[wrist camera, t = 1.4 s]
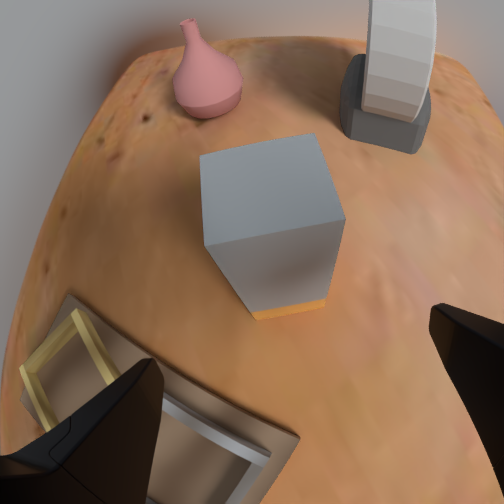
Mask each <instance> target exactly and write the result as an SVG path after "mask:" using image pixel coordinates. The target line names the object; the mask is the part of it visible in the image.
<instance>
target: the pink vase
mask: <svg viewBox="0 0 504 504" xmlns="http://www.w3.org/2000/svg"><path fill="white" fill-rule="evenodd" d="M180 26H181V29H182V31H183V34H184V37H185V40H186V46H185V50H184V55H183V59H182V62H181V63H180V65H179V67H178V69H177V71H176V72H175V74H174V77H173V79H172V80H173V86H174V91H175V96H176V101H177V102H178V103H179V104H180V105H181V106H182V107H183V108H184V109H185V110H186V111H187V113H189V114H190V115H191V116H193V117H197V118H212V117H216V116H220V115H222V114H224V113H227V112H229V111H230V110H232V109H233V108H234V107H236V106H237V104H238V103H239V101H240V100H241V93H242V85H243V76H242V74H241V72H240V70H239V68H238V66H237V64H236V62H235V61H234V59H233V58H231V57H229V56H227V55H224V54H222V53H220V52H218V51H216V50H214V49H213V48H212V47H211V46H210V45H209V44H208V43H207V42H205V41H204V40H203V39H202V38H201V36H200V33H199V30H198V26H197V23H196V20H195V19H193V18H192V19H188V20H184V21H182V22H181V23H180Z"/></svg>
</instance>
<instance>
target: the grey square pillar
mask: <svg viewBox="0 0 504 504" xmlns="http://www.w3.org/2000/svg"><path fill="white" fill-rule="evenodd" d="M200 178H201V199H202V217H203V233H204V246H205V248H206V249H207V251H208V252H209V254H210V255H211V257H212V258H213V260H214V261H215V263H216V264H217V265H218V267H219V268H220V270H221V271H222V273H223V274H224V276H225V277H226V279H227V280H228V281H229V283H230V284H231V286H232V287H233V289H234V290H235V292H236V293H237V294H238V296H239V297H240V299H241V300H242V302H243V303H244V304H245V306H246V307H247V309H248V310H249V311H250V313H251V314H252V316H253V317H254V318H255V320H261V319H267V318H272V317H278V316H283V315H289V314H294V313H300V312H305V311H310V310H315V309H320V308H324V305H325V301H326V297H327V294H328V290H329V286H330V283H331V279H332V275H333V271H334V267H335V263H336V259H337V255H338V251H339V247H340V242H341V238H342V234H343V229H344V225H345V220H346V219H345V215H344V212H343V209H342V206H341V203H340V200H339V198H338V195H337V192H336V189H335V186H334V183H333V180H332V178H331V175H330V172H329V169H328V167H327V164H326V161H325V159H324V156H323V154H322V151H321V148H320V146H319V143H318V141H317V138H316V136H315V133H311V134H305V135H298V136H292V137H286V138H280V139H275V140H269V141H264V142H259V143H254V144H249V145H244V146H239V147H235V148H230V149H226V150H221V151H217V152H213V153H208V154H204V155H200Z"/></svg>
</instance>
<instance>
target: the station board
mask: <svg viewBox="0 0 504 504" xmlns="http://www.w3.org/2000/svg"><path fill="white" fill-rule="evenodd" d="M143 358H154V359H155V360H156V362H157V364H158V366H159V368H160V370H161V372H162V374H163V376H164V380H165V384H164V394H163V404H162V415H161V423H160V428H159V433H158V438H157V443H156V448H155V453H154V458H153V464H152V469H151V475H150V480H149V486H148V492H147V498H146V504H259V503H260V502H261V500H262V499H263V498H264V496H265V495H266V493H267V492H268V490H269V489H270V487H271V486H272V484H273V483H274V481H275V480H276V478H277V477H278V475H279V474H280V472H281V471H282V469H283V467H284V466H285V464H286V463H287V461H288V459H289V458H290V456H291V455H292V453H293V451H294V450H295V448H296V446H297V445H298V443H299V441H300V437H299V436H297V435H294V434H292V433H290V432H288V431H285V430H283V429H281V428H279V427H277V426H275V425H272V424H270V423H268V422H266V421H264V420H262V419H260V418H258V417H256V416H254V415H252V414H250V413H248V412H246V411H244V410H242V409H241V408H239V407H237V406H235V405H233V404H231V403H229V402H228V401H226V400H224V399H222V398H220V397H218V396H217V395H215V394H213V393H211V392H210V391H208V390H206V389H205V388H203V387H201V386H199V385H198V384H196V383H194V382H193V381H191V380H190V379H188V378H186V377H185V376H183V375H181V374H180V373H178V372H177V371H175V370H174V369H172V368H170V367H169V366H167V365H166V364H164V363H163V362H161V361H160V360H158V359H157V358H155V357H154V356H152V355H151V354H149V353H148V352H147V351H145V350H144V349H142V348H141V347H139V346H138V345H137V344H135V343H134V342H132V341H131V340H130V339H128V338H127V337H126V336H124V335H123V334H121V333H120V332H119V331H117V330H116V329H115V328H113V327H112V326H111V325H110V324H108V323H107V322H106V321H104V320H103V319H102V318H101V317H99V316H98V315H97V314H96V313H94V312H93V311H92V310H91V309H89V308H88V307H87V306H86V305H85V304H83V303H82V302H81V301H80V300H79V299H77V298H76V297H75V296H73V295H71V294H69V293H68V295H67V297H66V299H65V301H64V302H63V304H62V306H61V308H60V310H59V312H58V314H57V316H56V318H55V320H54V322H53V324H52V326H51V328H50V330H49V332H48V334H47V336H46V338H45V341H44V342H43V343H42V344H41V345H40V346H39V347H38V348H37V349H36V350H35V351H34V352H33V353H32V355H31V356H30V357H29V358H28V359H27V360H26V361H25V362H24V363H23V364H22V366H21V367H20V368H19V370H20V373H21V375H22V378H23V381H24V383H25V388H24V390H23V393H22V396H21V398H20V401H21V402H22V404H23V405H24V406H25V408H26V409H27V410H28V412H29V413H30V414H31V415H32V417H33V418H34V419H35V420H36V422H37V423H38V424H39V425H40V426H41V428H42V429H43V430H44V431H45V432H46V433H47V432H48V431H50V430H51V429H53V428H54V427H55V426H57V425H58V424H59V423H61V422H62V421H63V420H65V419H66V418H67V417H68V416H71V414H72V413H74V412H75V411H76V410H78V409H79V408H80V407H81V406H83V405H84V404H85V403H86V402H88V401H89V400H90V399H92V398H93V397H94V396H95V395H97V394H98V393H99V392H100V391H102V390H103V389H104V388H106V387H107V386H108V385H109V384H111V383H112V382H113V381H114V380H116V379H117V378H118V377H119V376H121V375H122V374H123V373H125V372H126V371H127V370H128V369H130V368H131V367H132V366H133V365H135V364H136V363H137V362H138V361H140V360H141V359H143Z"/></svg>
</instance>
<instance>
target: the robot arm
mask: <svg viewBox="0 0 504 504" xmlns="http://www.w3.org/2000/svg"><path fill="white" fill-rule="evenodd" d="M429 332H430V335H431V337H432V339H433V342H434V344H435V346H436V349H437V351H438V353H439V355H440V358H441V360H442V363H443V365H444V367H445V369H446V371H447V373H448V375H449V377H450V379H451V380H452V382H453V384H454V386H455V388H456V390H457V392H458V394H459V395H460V397H461V399H462V401H463V403H464V405H465V407H466V409H467V411H468V413H469V415H470V417H471V419H472V421H473V424H474V426H475V428H476V430H477V432H478V434H479V436H480V439H481V441H482V443H483V445H484V448H485V450H486V452H487V455H488V457H489V459H490V462H491V464H492V467H494V468H493V470H494V472H495V475H496V477H497V480H498V483H499V485H500V488H501V491H502V494H503V496H504V324H502V323H500V322H497V321H494V320H491V319H488V318H485V317H482V316H480V315H477V314H474V313H471V312H468V311H465V310H462V309H459V308H457V307H454V306H451V305H448V304H445V303H440V304H437V305H434V306H432V308H431V312H430V321H429ZM164 384H165V380H164V376H163V374H162V372H161V370H160V368H159V366H158V364H157V362H156V360H155V359H154V358H143V359H141V360H140V361H138V362H137V363H136V364H135V365H133V366H132V367H131V368H130V369H128V370H127V371H126V372H125V373H123V374H122V375H121V376H119V377H118V378H117V379H116V380H114V381H113V382H112V383H111V384H109V385H108V386H107V387H106V388H104V389H103V390H102V391H100V392H99V393H98V394H97V395H95V396H94V397H93V398H92V399H90V400H89V401H88V402H86V403H85V404H84V405H83V406H81V407H80V408H79V409H78V410H76V411H75V412H74V413H72V414H71V416H68V417H67V418H66V419H65V420H63V421H62V422H61V423H59V424H58V425H57V426H55V427H54V428H53V429H51V430H50V431H48V432H47V433H45V434H44V435H42V436H41V437H39V438H37V439H36V440H34V441H33V442H31V443H30V444H28V445H26V446H25V447H23V448H22V449H20V450H19V451H17V452H15V453H12V454H9V455H3V456H0V504H146V498H147V492H148V486H149V480H150V475H151V469H152V464H153V458H154V453H155V448H156V443H157V438H158V433H159V428H160V423H161V415H162V404H163V394H164Z"/></svg>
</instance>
